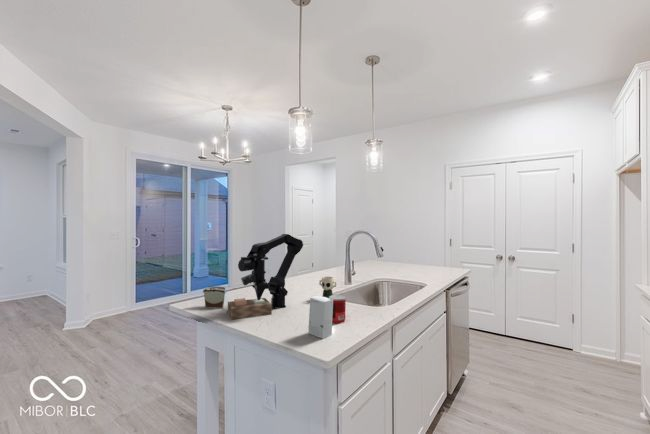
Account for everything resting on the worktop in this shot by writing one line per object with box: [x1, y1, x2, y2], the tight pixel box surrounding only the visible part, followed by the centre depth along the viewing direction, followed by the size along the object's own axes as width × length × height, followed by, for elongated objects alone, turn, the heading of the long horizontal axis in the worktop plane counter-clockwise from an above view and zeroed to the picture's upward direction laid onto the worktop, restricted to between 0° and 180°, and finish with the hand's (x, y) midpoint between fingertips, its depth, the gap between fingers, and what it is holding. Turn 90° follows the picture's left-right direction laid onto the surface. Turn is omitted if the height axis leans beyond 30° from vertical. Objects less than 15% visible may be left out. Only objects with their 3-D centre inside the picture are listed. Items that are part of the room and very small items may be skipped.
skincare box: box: [308, 295, 333, 340], centre depth 122 cm, size 8×6×15 cm
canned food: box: [329, 294, 347, 324], centre depth 138 cm, size 8×8×11 cm
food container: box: [202, 286, 227, 309], centre depth 160 cm, size 12×6×10 cm, turn 84°
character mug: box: [318, 276, 337, 298], centre depth 174 cm, size 11×7×13 cm, turn 64°
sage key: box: [251, 298, 265, 304], centre depth 151 cm, size 5×5×4 cm
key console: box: [227, 297, 273, 320], centre depth 149 cm, size 19×13×5 cm
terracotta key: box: [233, 297, 247, 306], centre depth 147 cm, size 5×5×4 cm
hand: (258, 299), depth 151 cm, fingers closed, pressing on sage key
